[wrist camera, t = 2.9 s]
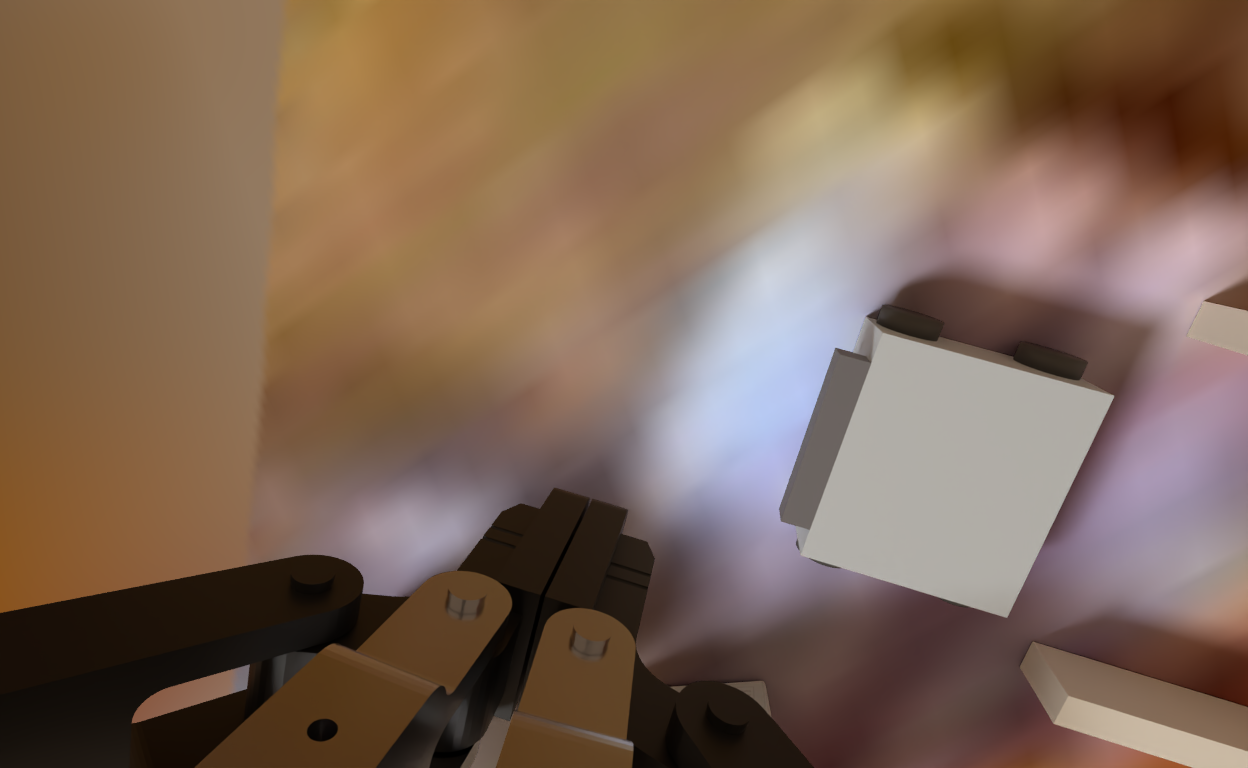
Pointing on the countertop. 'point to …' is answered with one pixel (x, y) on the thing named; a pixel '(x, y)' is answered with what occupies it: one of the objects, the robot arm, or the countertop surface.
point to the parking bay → (1133, 703)
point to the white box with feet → (940, 460)
